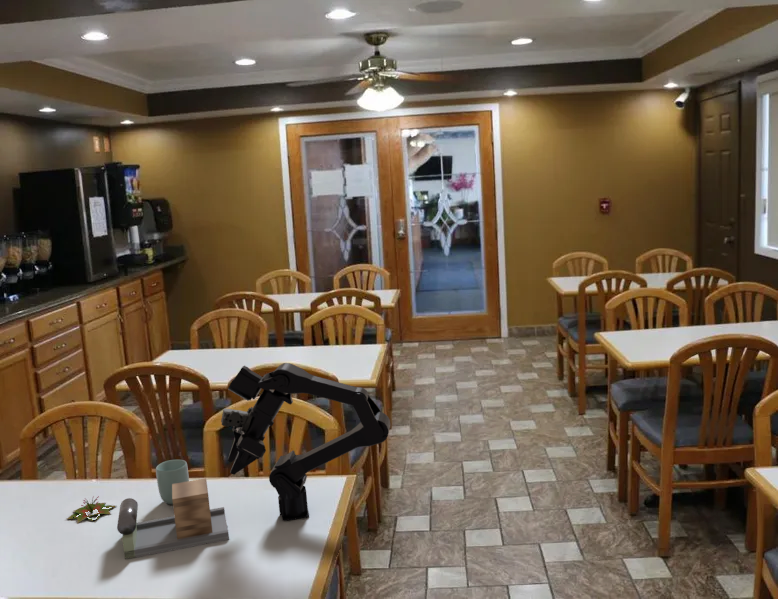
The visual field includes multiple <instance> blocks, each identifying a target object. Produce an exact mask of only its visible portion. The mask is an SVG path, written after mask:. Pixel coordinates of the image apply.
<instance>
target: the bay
mask: <svg viewBox="0 0 778 599" xmlns="http://www.w3.org/2000/svg"><path fill="white" fill-rule="evenodd" d="M138 506H139V504H138V501H137V500H135V499H134V498H132V497H131V498H130V497H128V498H125V499H124V500H122V501H121V503H120V506H119V510H118V511H119V513H118V518H117V523H116V524H117V526H116V528H117V532H118V533H120V535H122V538H121V540H122V547H123V553H124V554H123V555H124V560H129V559H133V558H139V557H145V556H149V555H150V556H151V555H154V554H155V555H156V554H160V553H166V552H170V551H175V550H180V549H186V548H191V547H197V546H201V545H206V543H207V544H211V543H218V542H222V541H223V542H224V541H226V540H230V536H229V529H228V525H227V518H226V511H225V507H224V506H223V507H217V508H210V514H211V523H212V532H213V533H208V534H203V535H198V536H193V537H187V538H182V539H177V533H176V525H175V517H174V515H173V516H167V517H163V518H157V519H152V520H146V521H145V520H144V521H140V522H137V521H138V520H137V519H138V510H139V507H138Z"/></svg>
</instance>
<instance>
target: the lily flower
mask: <svg viewBox="0 0 778 599" xmlns="http://www.w3.org/2000/svg"><path fill="white" fill-rule="evenodd" d="M94 497H95V496H94V495H93V496H92V499H91V503H89V501H88V500H87V498H84V499H82V504H81V507H79V508H77V509H75V510H73V512H74V513H72V514H71V515H69V516H68V517H67V518H66V520H68V519H69V520H70V519H71V520H72V519H76V520H77V522H76V524H79V523H80V522H82V521H83V520H85V519H86V520H89V521H92V522H94V521H93V520H92V519H88V518H87V517H92V516H97V515H98V514H101V515H100V516H98V517H97V521H98V520H99V519H100V517H101V516H102V515H111V514H110V513H111V511H110V510H111V509H113V508H116V507H115V506H116V505H113V504H111V505H110V504H108V505H106V503H107V502H99V501H97V500H98V498H100V496H99V495H98V496H97V497H96V498H95V499H94ZM96 501H97V502H96ZM104 503H105V504H104ZM83 504H84V505H83ZM103 507H106V508H109V507H113V508H110V509H102V508H103ZM95 509H97V510H98V512H99V513H97V512H96V513H93V512H94V511H93V510H95ZM88 511H89V512H88ZM85 512H88V513H90V516H89V515H88V516H87V515H86V513H85ZM79 514H81V515H79ZM93 514H94V515H93ZM77 515H79V516H78V517H76V516H77ZM73 517H74V518H73Z"/></svg>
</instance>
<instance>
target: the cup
mask: <svg viewBox="0 0 778 599" xmlns="http://www.w3.org/2000/svg"><path fill="white" fill-rule="evenodd" d="M155 476H156V483H157V488H158V489H157V490H158V494H159V497H160V499H161V500H162V502H164V503H165V504H167V505H173V500H172V484H176V483H181V482H187V481H190V476H189V469H188V463H187V461H186V460H183V459H170V460H166V461H163V462H161V463H159V464H158V465H157V466H156V467H155Z"/></svg>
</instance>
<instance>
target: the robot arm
mask: <svg viewBox="0 0 778 599" xmlns="http://www.w3.org/2000/svg"><path fill="white" fill-rule="evenodd" d="M227 390H228V391H230V392H232V393H234V394H235V395H237V396H238V397H240V398H242V399H243V400H245V401H251V400H255V399H256V398H257V397H258V398H257V400H256V402H255V403H254V405H253V406H250V407H249V408H248V409H247V410H246V411H244V410H239V409H232V408H223V410H222V413H221V414H222V415H221V420H220V422H221V426H223V427H233V428H232V432H233V433H232V434H233V437H234V438H233V443H232V445H231V448H230V451H229V454H228V457H227V462H229V463H233V464H232V466H231V469H230V472H229V473H230V474H231V475H233V476H234V475H236V474H238V473H239V472H241V471H242V470H243V469H245V468H246V467H248V466H249V465H250V464H252V463H253V462H255V461H256V460H260V458H263V457H264V455H265V454H266V452H267V450H266V446H265V443H264V440H265V438H266V437H265V434H266V433H267V432H268V430H269V427H273V425H274V423H275V422H274V420H275V419H276V416H277V415H278V413H279V411H280V409H281V408H282V406H283V404H284V403H286V404H288V405H292V404H293V403H294V400H293V397H292V395H294V394H309V395H312V396H315V397H318V398H323V399H326V400H329V401H334V402H338V403H341V404H345V405H350V406H352V407H353V409H354V410H355V412H356V414H357V417H358V420H359V421H360V422H359V423H358V424H357V425H356V426H355V427H353V429H351V430H349V431H348V432H345V433H343V434H341V435H339V436H337V437H335V438H333V439H331V440H329V441H327V442H325V443H323V444H321V445H319V446H317V447H315V448H313V449H311V450H309V451H307V452H304V453H303V454H302V453H301V454H296V453H295V450H291V451H290V452H288V453H287V454H285V455H280V456H279V458H278V460H277V461H276V463H275V465H274V466H273V468H272V469H271V471H270V473H269V475H268V478H269V483H270V485H271V486H272V487H273V488H274V489H275V490H276V492H277V494H278V496H277V500H278V508H279V509H278V510H279V516H281V519H282V520H281V521H283V522H285V521H291V520H297V519H298V520H299V519H306V518H309V517H310V512H309V507H308V506H309V505H308V497H307V489H306V486H305V484H306V481H307V478H308V472H310V471H312V470H315V469H317V468H318V467H321V466H323V465H325V464H327V463H329V462H331V461H333V460H335V459H337V458H340V457H342V456H343V455H345V454H347V453H349V452H352V451H353V450H356V449H357V448H364V447H365V448H367V447H373V446H375V445H379V444H382V443H383V442H385V441H387V439H388V436H389V433H390V427H391V419H390V418H389V416H388V415H387V414H386V413H384V412H382V410H381V408H380V407H379V405H378V404H377V403H376V401H375V400H374V399H373V398H372V397H371V395H370V394H369V391H367V389H366V388H363V387H357V386H354V385H350V384H346V383H342V382H338V381H334V380H330V379H328V378H323V377H321V376H316V375H313V374H311V373H309V372H307V371H306V370H304V369H303V368H301V367H299V366H296V365H294V364H293V363H290V362H283V363H281V364H280V365H278V366H277V367H276V369H275V370H273V371H270V372H268V373H264V375H263V376H261V375H260V374H258V373H257V372H254V371H253V370H251V369H250V368H249V367H248V366H246V365H243V366H242V367H241V368H240V370H239V371H238V373H237V374H236V376H235V377H234V378H233V379H232V380H231V383H230V384H229V386H228V388H227ZM261 391H262V392H261ZM260 392H261V393H260ZM259 393H260V395H259ZM258 395H259V396H258Z"/></svg>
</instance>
